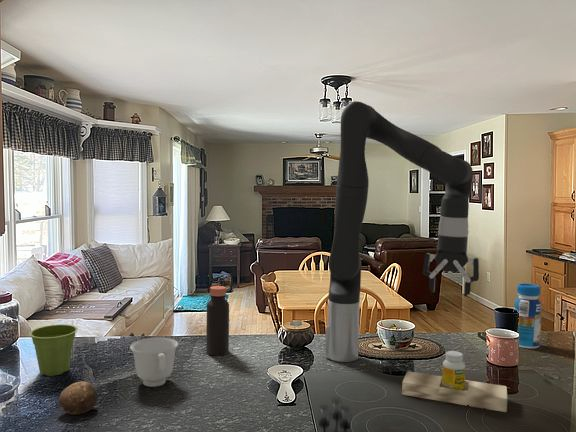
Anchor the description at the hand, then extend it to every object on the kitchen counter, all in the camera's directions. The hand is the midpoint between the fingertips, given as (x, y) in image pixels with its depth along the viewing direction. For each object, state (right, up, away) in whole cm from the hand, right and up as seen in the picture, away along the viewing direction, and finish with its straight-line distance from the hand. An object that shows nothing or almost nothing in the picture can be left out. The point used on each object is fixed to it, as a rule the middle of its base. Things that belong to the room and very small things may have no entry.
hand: (449, 293), depth 138 cm
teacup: (-77, -22, -7) cm, 81 cm away
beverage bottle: (+35, -22, +31) cm, 52 cm away
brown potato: (-91, -23, -22) cm, 96 cm away
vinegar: (-65, -21, +18) cm, 71 cm away
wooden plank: (-2, -24, -11) cm, 26 cm away
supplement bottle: (-3, -23, -11) cm, 25 cm away
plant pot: (-107, -21, +1) cm, 109 cm away
